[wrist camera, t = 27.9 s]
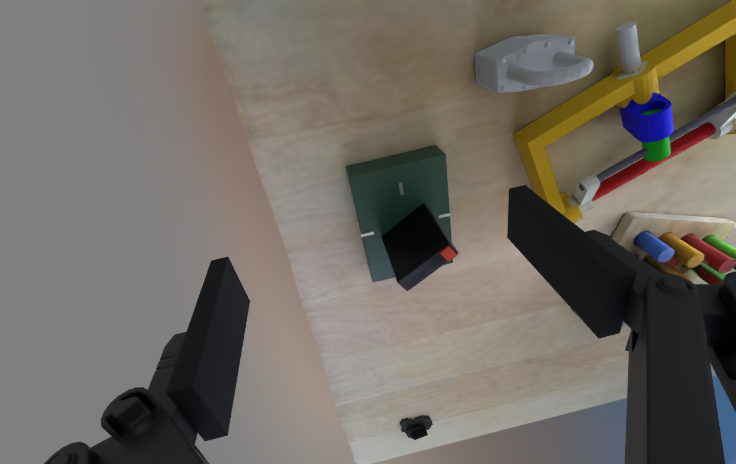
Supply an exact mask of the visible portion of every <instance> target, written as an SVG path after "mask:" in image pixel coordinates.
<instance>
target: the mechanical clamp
mask: <svg viewBox="0 0 736 464" xmlns="http://www.w3.org/2000/svg"><path fill="white" fill-rule="evenodd" d="M616 31H617V38H618V44H619V50H620V56H621V63H622V66H621V67H619V68H617V69H616V70H615V71H614V72H613V73H612V74H611V75H609V76H608V77H606V78H604V79H603V80H601V81H600V82H598V83H596V84H595V85H593V86H591V87H590V88H588V89H586V90H585V91H583V92H581V93H580V94H578V95H577V96H575V97H573V98H572V99H570V100H568V101H567V102H565V103H563V104H562V105H560V106H559V107H557V108H555V109H554V110H552V111H550V112H549V113H547V114H545V115H544V116H542V117H540V118H539V119H537V120H536V121H534V122H532V123H531V124H529V125H527V126H526V127H524V128H522V129H521V130H519V131H517V132H516V133H514V134H513V136H514V139H515V141H516V144H517V147H518V150H519V152H520V155H521V158H522V161H523V163H524V166H525V169H526V171H527V174H528V177H529V180H530V182H531V185H532V188H533V190H534V192H535V193H536V194H537V195H538V196H540V197H541V198H542V199H543V200H545V201H546V202H547V203H549V204H550V205H551V206H552V207H554V208H555V209H556V210H557V211H559V212H560V213H561V214H563V215H564V216H565V217H566V218H568V219H569V220H570V221H571V222H573V223H575V222H577V221H578V220H580V219H582V213H583V212H585V211H587V210H589V209H591V208H592V207H593V206H594V205H593V201H594V200H596V199H598V198H600V197H602V196H603V195H605V194H607V193H609V192H611V191H612V190H614V189H616V188H618V187H620V186H621V185H623V184H625V183H627V182H629V181H630V180H632V179H634V178H636V177H637V176H639V175H641V174H643V173H645V172H646V171H648V170H650V169H652V168H654V167H655V166H657V165H659V164H661V163H663V162H664V161H666V160H668V159H670V158H672V157H673V156H675V155H677V154H679V153H681V152H682V151H684V150H686V149H688V148H689V147H691V146H693V145H695V144H697V143H698V142H700V141H702V140H704V139H706V138H707V137H708V138H711V139H716V138H719V137H720V136H722V135H724V134H735V133H736V0H732V1H731V2H729V3H728V4H726V5H724V6H723V7H721V8H719V9H718V10H716V11H714V12H713V13H711V14H709V15H708V16H706V17H705V18H703V19H701V20H700V21H698V22H696V23H695V24H693V25H691V26H690V27H688V28H686V29H685V30H683V31H682V32H680V33H678V34H677V35H675V36H673V37H672V38H670V39H668V40H667V41H665V42H664V43H662V44H660V45H659V46H657V47H655V48H654V49H652V50H650V51H649V52H647V53H645V54H644V55H642V56H641V57H640V51H639V44H638V36H637V28H636V22H634V21H632V22H628V23H625V24H622V25H621V26H619V27H618V28H617V29H616ZM725 39H726V100H725V101H723V102H722V103H720V104H718V105H716V106H714V107H713V108H712V109H711V110H710V111H708V112H707V113H705V114H703V115H701V116H700V117H698V118H696V119H694V120H693V121H691V122H689V123H687V124H686V125H684V126H682V127H680V128H678V129H677V130H675V131H673V118H672V107H671V102H670V101H669V100H668V99H666V98H665V97H663V96H662V95H660V94H659V87H658V79H660V78H662V77H663V76H665V75H667V74H668V73H670V72H672V71H673V70H675V69H677V68H678V67H680V66H682V65H683V64H685V63H687V62H688V61H690V60H692V59H693V58H695V57H697V56H699V55H700V54H702V53H704V52H705V51H707V50H709V49H710V48H712V47H714V46H715V45H717V44H719V43H720V42H722V41H724V40H725ZM614 105H616V106H618V107H620V111H621V117H622V123H623V127H624V128H625V129H626V130H627V131H628V132H630V133H631V134H632V135H633V136H634V137H635V138H636V139H637V140H639V141H641V142H642V150H640V151H638V152H636V153H635V154H633V155H631V156H629V157H627V158H626V159H624V160H622V161H620V162H619V163H617V164H615V165H613V166H612V167H610V168H608V169H606V170H605V171H603V172H601V173H599V174H598V175H596V176H595V175H594V174H590V175H589V176H587V177H585V178H583V179H582V180H580V181H578V182H577V185H576V187H575V189H574V192H572V193H570V194H567V193H562V194H560V193H559V189H558V186H557V183H556V180H555V177H554V174H553V171H552V167H551V164H550V161H549V158H548V155H547V152H546V149H545V147H546V146H547V145H549V144H551V143H552V142H554V141H556V140H557V139H559V138H561V137H562V136H564V135H566V134H567V133H569V132H571V131H572V130H574V129H576V128H577V127H579V126H581V125H583V124H584V123H586V122H588V121H589V120H591V119H593V118H594V117H596V116H598V115H599V114H601V113H603V112H604V111H606V110H608V109H609V108H611V107H613V106H614ZM697 126H699V127H698V128H696V129H694V128H695V127H697ZM692 129H694V130H692ZM690 130H692V131H691V132H689V133H687V134H685V133H686V132H688V131H690ZM683 134H685V135H684V136H682V137H680V138H678V137H679V136H681V135H683ZM676 138H678V139H676ZM674 139H676V140H675V141H673V142H671V141H672V140H674ZM670 142H671V143H670ZM642 157H644V158H643V159H641V160H639V159H640V158H642ZM637 160H639V161H637ZM635 161H637V162H636V163H634V164H632V163H633V162H635ZM630 164H632V165H630ZM628 165H630V166H629V167H627V168H625V169H623V168H624V167H626V166H628ZM621 169H623V170H622V171H620V172H618V173H616V172H617V171H619V170H621ZM614 173H616V174H614ZM612 174H614V175H613V176H611V177H609V176H610V175H612ZM607 177H609V178H607ZM605 178H607V179H606V180H604V181H602V182H600V181H601V180H603V179H605Z"/></svg>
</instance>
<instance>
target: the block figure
mask: <svg viewBox="0 0 736 464" xmlns="http://www.w3.org/2000/svg"><path fill="white" fill-rule="evenodd" d="M400 425H401V427H402V428H403V429H401V430H402V432H405V433H406V434H407V436H408V437H409V438H410V437H411V439H412V438H413V439H414V440H416V439H419V438H421V437H424V436H427V435H428V434H427V431H426V430H428V429H430V427H431V425H433V424H432V422H431V420H430V418H429V416H427V417H426V416H423V415H422V416H419V417H417V418H414V420H413V421H412V419H411V418H410V419H408V418H407V419H404V420H401V422H400Z"/></svg>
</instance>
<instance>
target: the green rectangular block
mask: <svg viewBox="0 0 736 464" xmlns="http://www.w3.org/2000/svg"><path fill="white" fill-rule="evenodd" d="M346 170H347V174H348V179H349V183H350V187H351V192H352V196H353V200H354V205H355V209H356V214H357V218H358V222H359V227H360V231H361V237H362V240H363V244H364V249H365V253H366V257H367V262H368V266H369V270H370V274H371V277H372V281H373V282H377V281H381V280H385V279H389V278H393V277H395V274H394V271H393V268H392V265H391V263H390V260H389V257H388V254H387V252H386V249H385V246H384V243H383V240H382V238H381V237H382V236H383V235H384V234H385V233H387V232H388V231H389V230H390V229H392V228H393V227H394V226H395V225H397V224H398V223H399V222H400V221H402V220H403V219H404V218H405V217H407V216H408V215H409V214H410V213H412V212H413V211H414V210H415V209H417V208H418V207H419V206H420V205H422V204H423V203H424V204H425V205H426V206H427V207H428V208H429V209H430V210H431V211H432V213H433V214H434V216H435V218H436V219H437V221H438V222H439V224H440V225H441V227H442V228H443V230H444V231H445V233H446V234H447V236H448V238H449V239H450V241H451V227H450V216H451V212H449V197H448V182H447V168H446V155H445V153H444V152H443V151H442V150H441V149H440V148H439V147H438V146H437V145H435V146H431V147H426V148H422V149H418V150H414V151H409V152H405V153H401V154H397V155H392V156H388V157H384V158H380V159H375V160H371V161H367V162H363V163H358V164H354V165H350V166H346ZM449 263H453V259H451V260H450V261H449V262H446V263H445V264H449ZM445 264H444V265H445Z"/></svg>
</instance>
